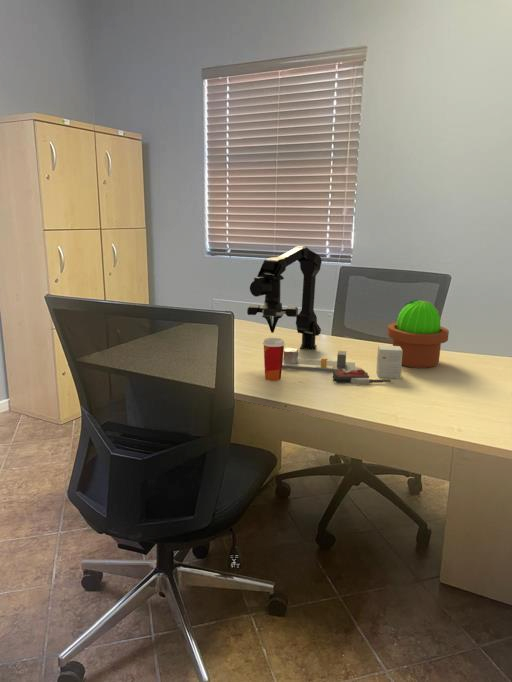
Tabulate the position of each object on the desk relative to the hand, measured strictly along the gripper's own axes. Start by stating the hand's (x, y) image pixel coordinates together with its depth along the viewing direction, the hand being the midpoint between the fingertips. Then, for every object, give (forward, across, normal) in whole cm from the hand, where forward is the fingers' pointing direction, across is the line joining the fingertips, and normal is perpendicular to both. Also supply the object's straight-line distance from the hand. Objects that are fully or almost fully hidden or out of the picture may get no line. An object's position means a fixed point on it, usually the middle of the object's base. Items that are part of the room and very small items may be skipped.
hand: (272, 332), depth 201 cm
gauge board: (+12, +17, -4) cm, 21 cm away
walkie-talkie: (+12, +34, -16) cm, 39 cm away
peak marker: (+10, +21, -7) cm, 24 cm away
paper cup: (+11, +4, -21) cm, 24 cm away
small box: (+12, +44, -8) cm, 46 cm away
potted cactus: (+12, +55, +12) cm, 58 cm away
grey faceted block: (+10, +8, -5) cm, 14 cm away
